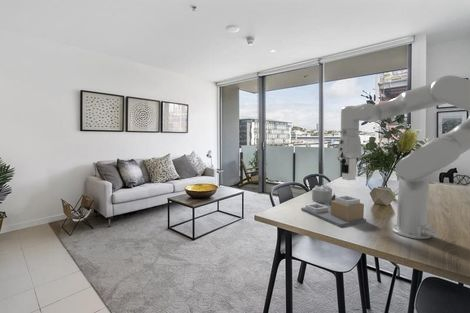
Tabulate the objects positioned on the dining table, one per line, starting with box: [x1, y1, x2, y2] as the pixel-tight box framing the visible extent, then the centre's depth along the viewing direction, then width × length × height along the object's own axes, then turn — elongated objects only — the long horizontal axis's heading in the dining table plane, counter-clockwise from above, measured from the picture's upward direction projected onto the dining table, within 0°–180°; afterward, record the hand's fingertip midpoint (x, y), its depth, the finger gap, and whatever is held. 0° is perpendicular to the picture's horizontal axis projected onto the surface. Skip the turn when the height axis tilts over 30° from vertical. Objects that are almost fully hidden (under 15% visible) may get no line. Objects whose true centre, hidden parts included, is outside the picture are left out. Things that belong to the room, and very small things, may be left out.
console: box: [301, 195, 367, 228], centre depth 117 cm, size 26×16×10 cm, turn 23°
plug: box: [341, 158, 357, 181], centre depth 111 cm, size 5×4×10 cm
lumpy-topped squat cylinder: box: [311, 184, 333, 204], centre depth 146 cm, size 10×13×9 cm
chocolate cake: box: [328, 193, 337, 207], centre depth 130 cm, size 10×7×12 cm
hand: (348, 172), depth 110 cm, fingers closed on plug, 4 cm apart
